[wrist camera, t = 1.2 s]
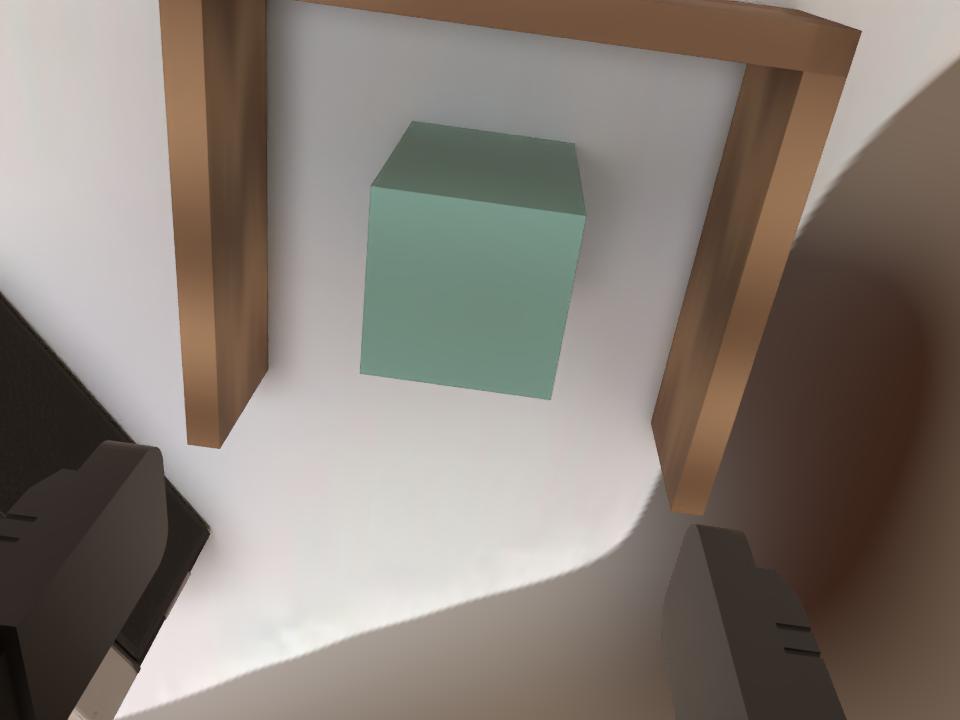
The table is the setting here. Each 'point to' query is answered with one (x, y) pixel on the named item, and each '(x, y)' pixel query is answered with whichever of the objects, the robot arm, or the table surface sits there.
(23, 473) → the camera
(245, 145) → the bay
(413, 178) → the block
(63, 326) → the table surface
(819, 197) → the table surface
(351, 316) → the table surface
